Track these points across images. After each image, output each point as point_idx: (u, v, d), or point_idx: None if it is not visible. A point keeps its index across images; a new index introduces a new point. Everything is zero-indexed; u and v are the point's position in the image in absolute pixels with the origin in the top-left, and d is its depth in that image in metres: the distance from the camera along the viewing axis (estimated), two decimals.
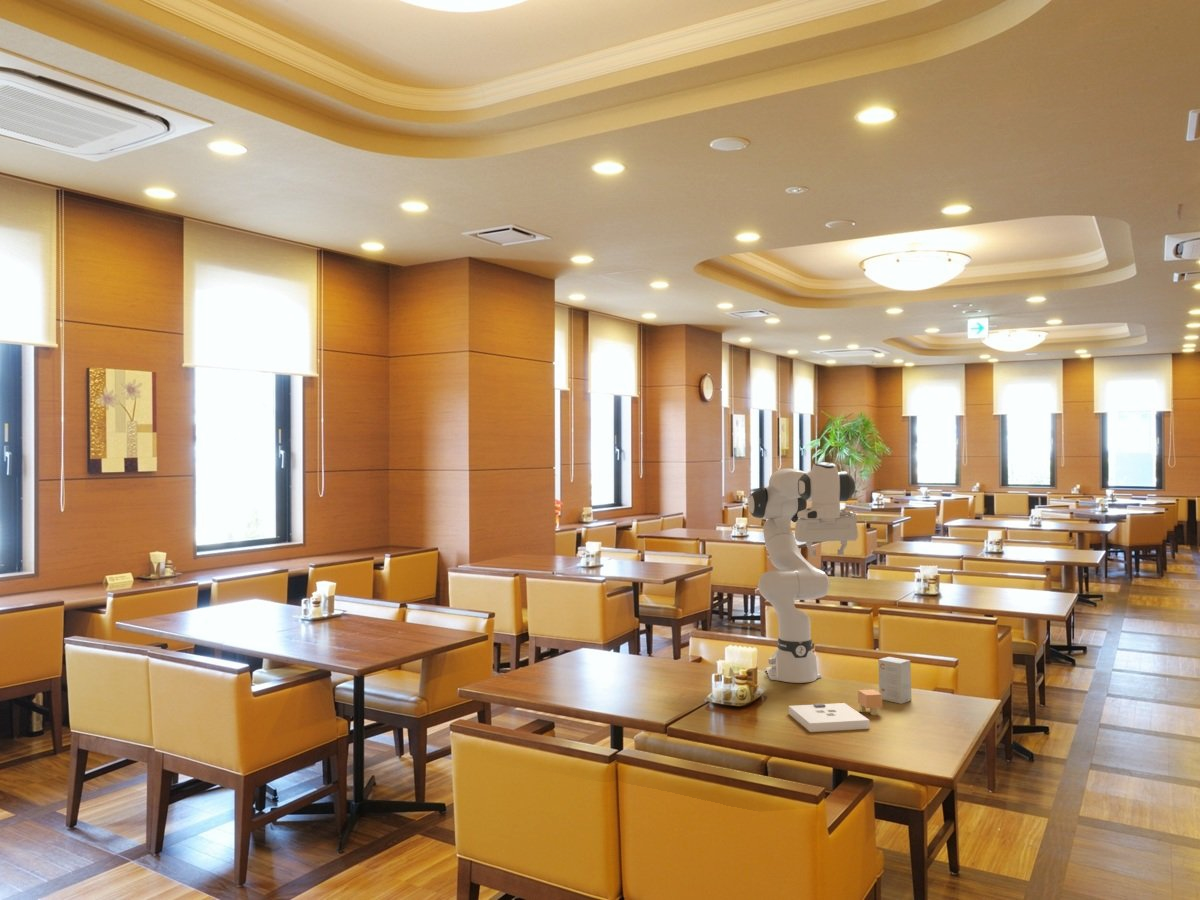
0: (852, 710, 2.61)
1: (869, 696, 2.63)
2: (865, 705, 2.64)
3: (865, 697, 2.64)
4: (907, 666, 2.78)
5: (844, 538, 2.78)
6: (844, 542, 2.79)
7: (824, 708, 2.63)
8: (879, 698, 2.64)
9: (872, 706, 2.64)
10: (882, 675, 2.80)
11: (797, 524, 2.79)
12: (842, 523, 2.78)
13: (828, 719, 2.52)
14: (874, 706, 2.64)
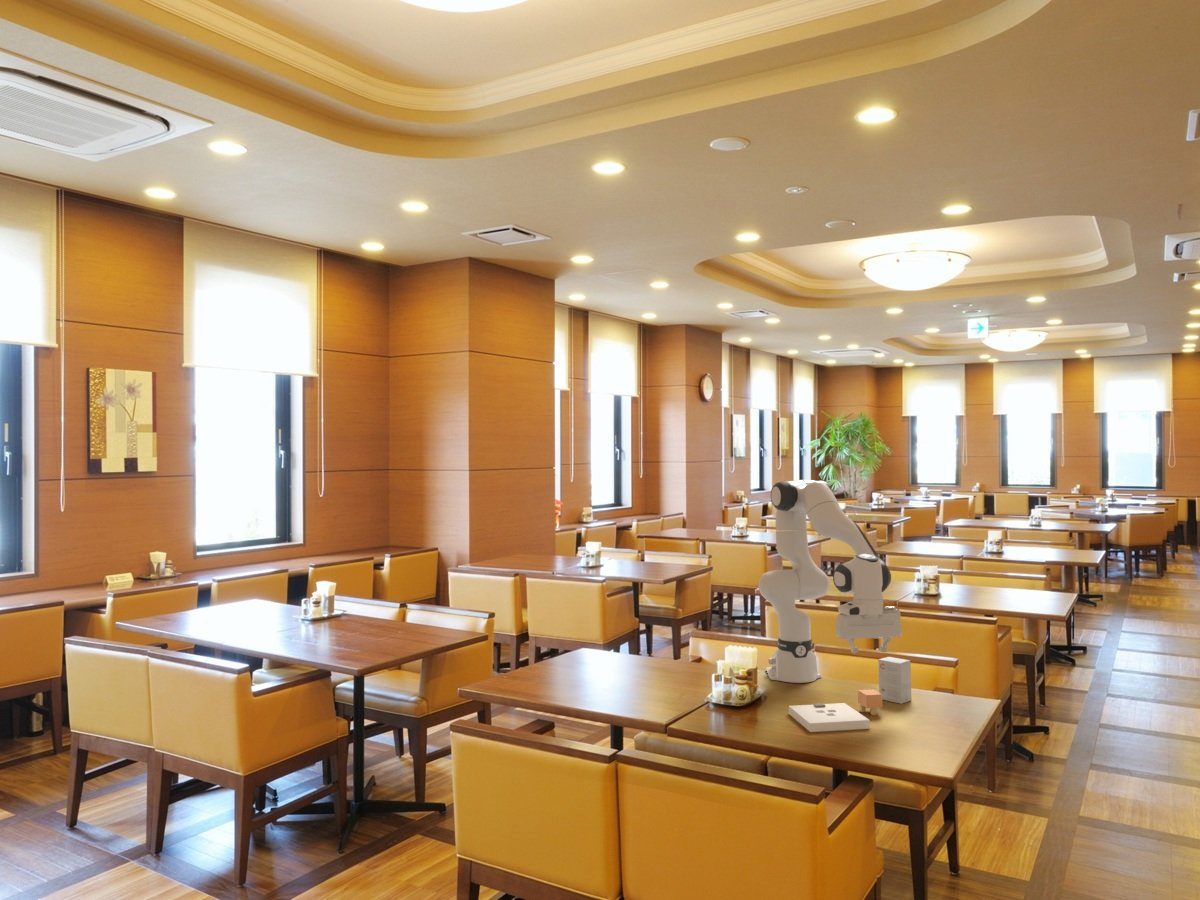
0: (852, 710, 2.61)
1: (869, 696, 2.63)
2: (865, 705, 2.64)
3: (865, 697, 2.64)
4: (907, 666, 2.78)
5: (887, 634, 2.66)
6: (887, 638, 2.66)
7: (824, 708, 2.63)
8: (879, 698, 2.64)
9: (872, 706, 2.64)
10: (882, 675, 2.80)
11: (838, 620, 2.66)
12: (885, 619, 2.66)
13: (828, 719, 2.52)
14: (874, 706, 2.64)
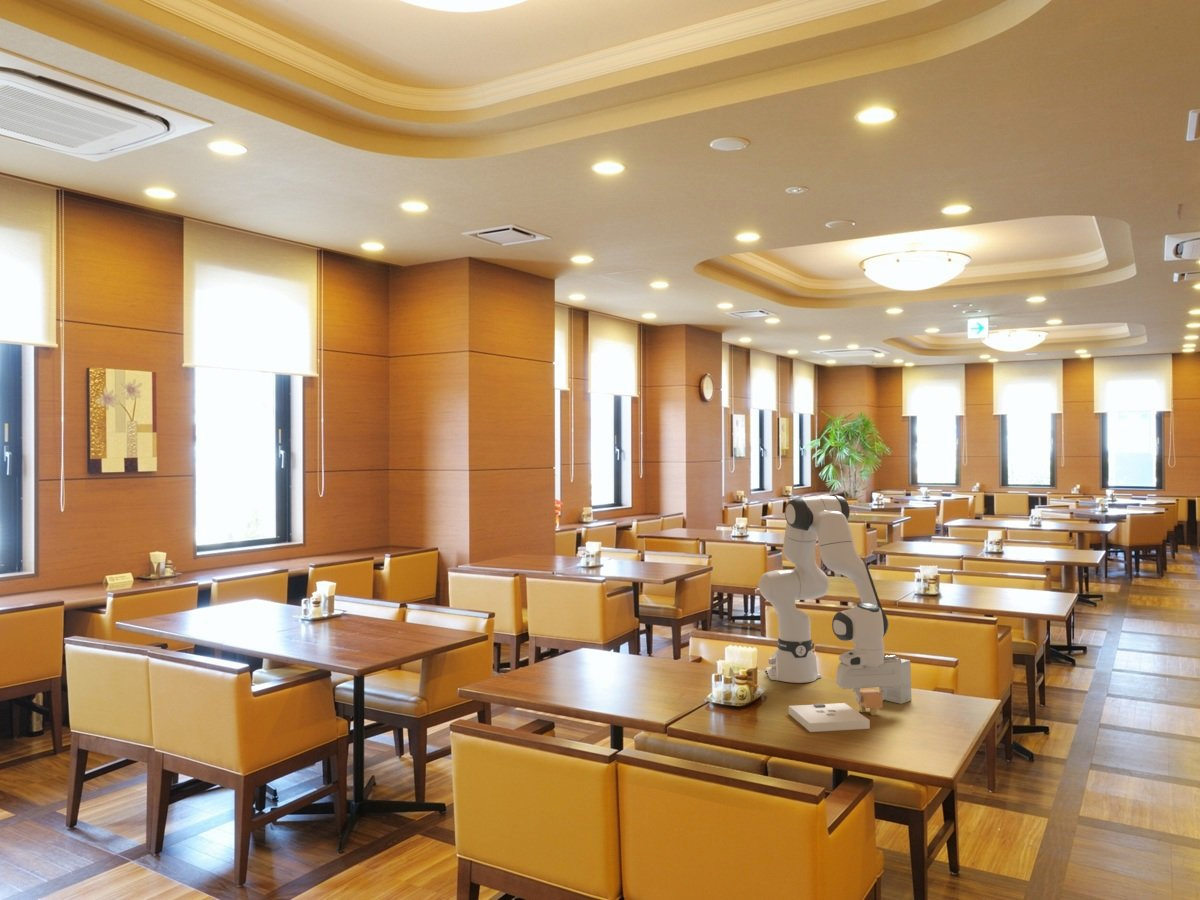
0: (852, 710, 2.61)
1: (869, 696, 2.63)
2: (865, 705, 2.64)
3: (865, 697, 2.64)
4: (907, 666, 2.78)
5: (888, 684, 2.66)
6: (884, 688, 2.66)
7: (824, 708, 2.63)
8: (879, 698, 2.64)
9: (872, 706, 2.64)
10: None
11: (839, 669, 2.66)
12: (886, 668, 2.66)
13: (828, 719, 2.52)
14: (874, 706, 2.64)
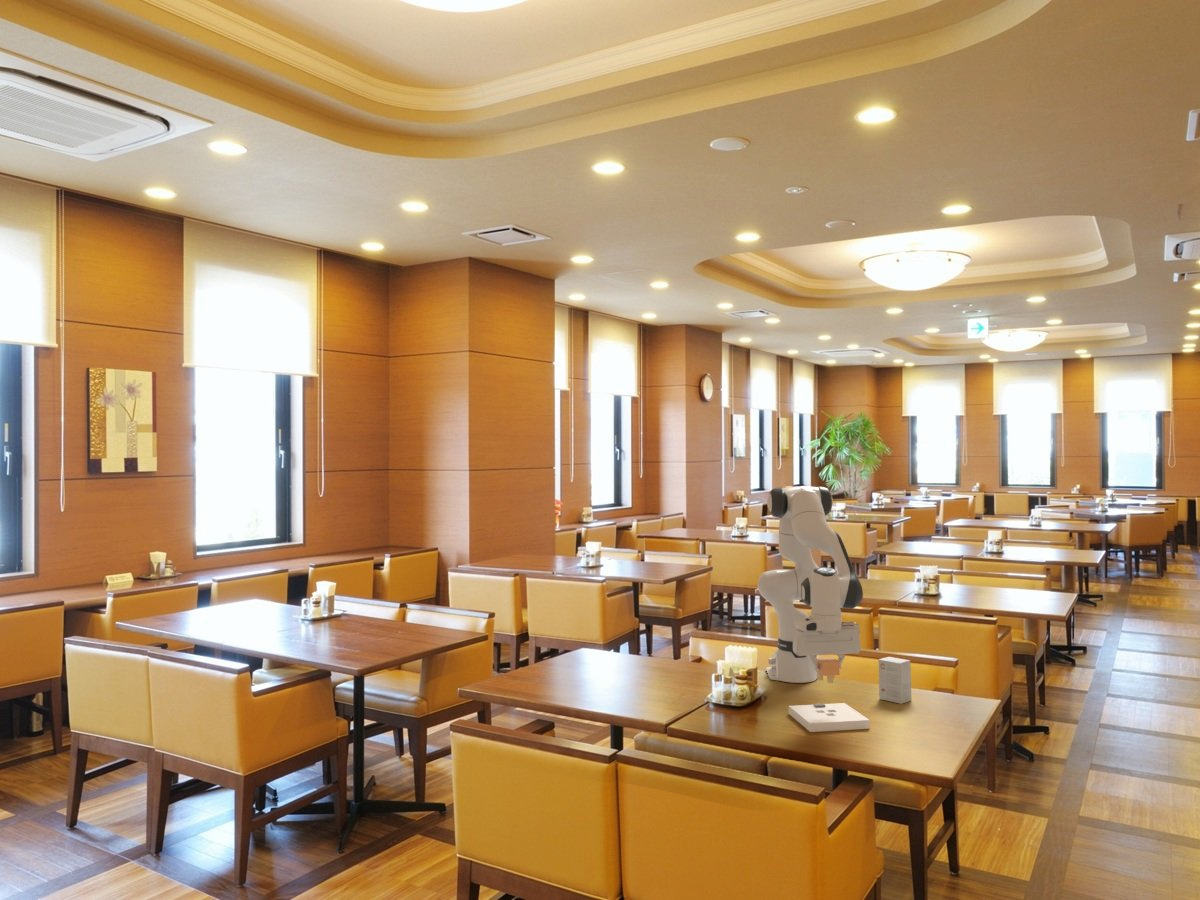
0: (852, 710, 2.61)
1: (826, 663, 2.55)
2: (822, 672, 2.56)
3: (822, 664, 2.56)
4: (907, 666, 2.78)
5: (846, 651, 2.58)
6: (841, 655, 2.58)
7: (824, 708, 2.63)
8: (836, 665, 2.56)
9: (829, 673, 2.55)
10: (882, 675, 2.80)
11: (795, 636, 2.58)
12: (844, 635, 2.58)
13: (828, 719, 2.52)
14: (831, 673, 2.55)
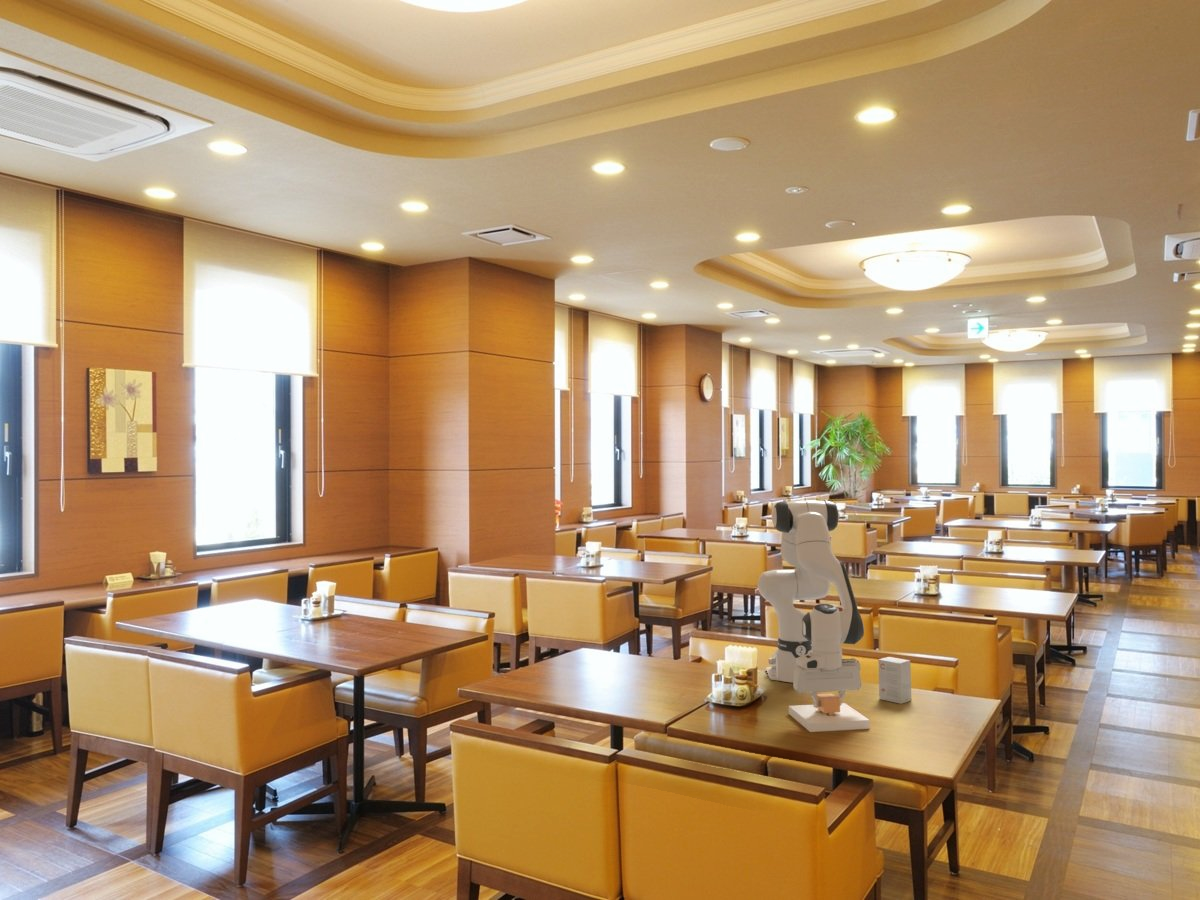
0: (852, 710, 2.61)
1: (826, 700, 2.55)
2: (822, 710, 2.56)
3: (822, 701, 2.56)
4: (907, 666, 2.78)
5: (846, 688, 2.58)
6: (842, 692, 2.58)
7: None
8: (837, 702, 2.56)
9: (829, 711, 2.56)
10: (882, 675, 2.80)
11: (795, 672, 2.58)
12: (844, 672, 2.58)
13: (828, 719, 2.52)
14: (832, 711, 2.56)
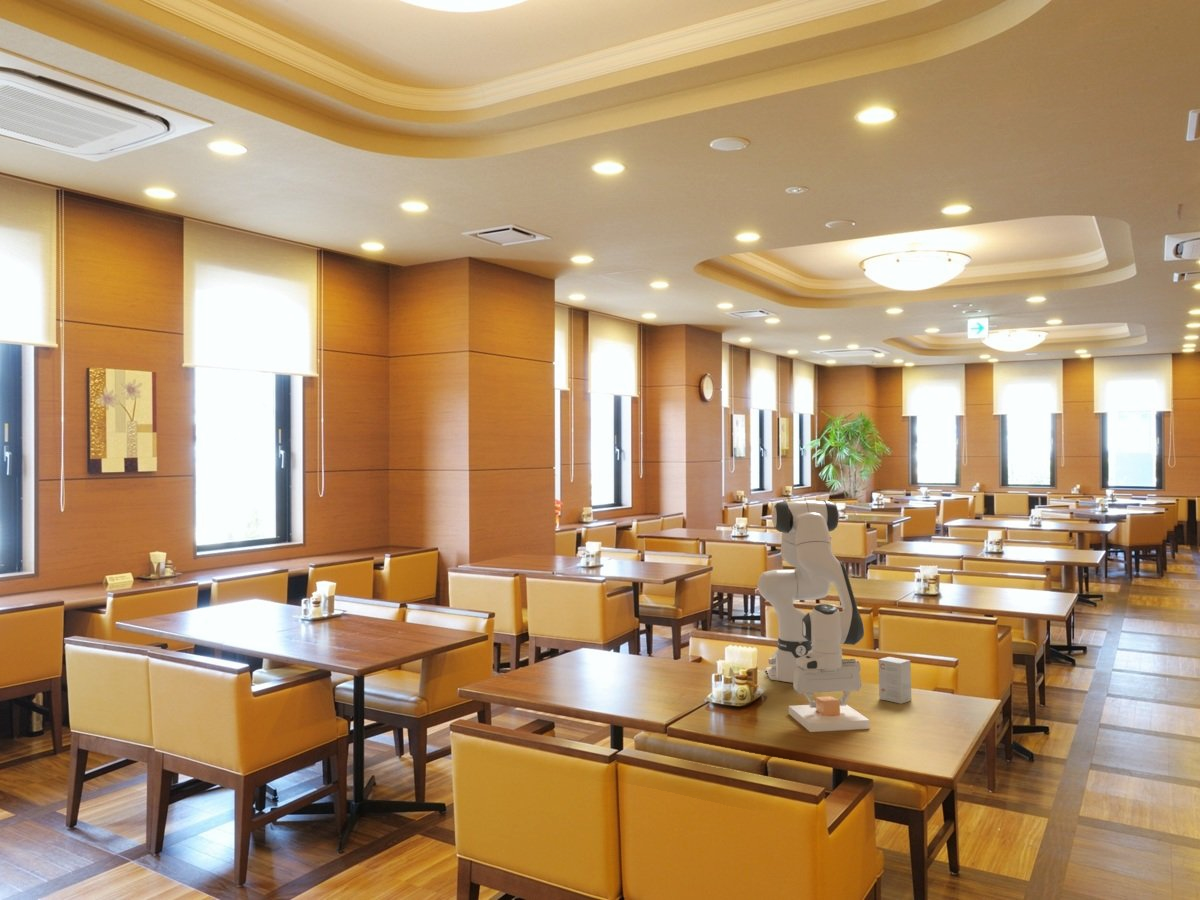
0: (852, 710, 2.61)
1: (826, 703, 2.56)
2: (822, 713, 2.56)
3: (822, 704, 2.56)
4: (907, 666, 2.78)
5: (846, 688, 2.58)
6: (846, 692, 2.58)
7: None
8: (837, 705, 2.56)
9: (829, 714, 2.56)
10: (882, 675, 2.80)
11: (795, 673, 2.58)
12: (844, 672, 2.58)
13: (828, 719, 2.52)
14: (831, 714, 2.56)
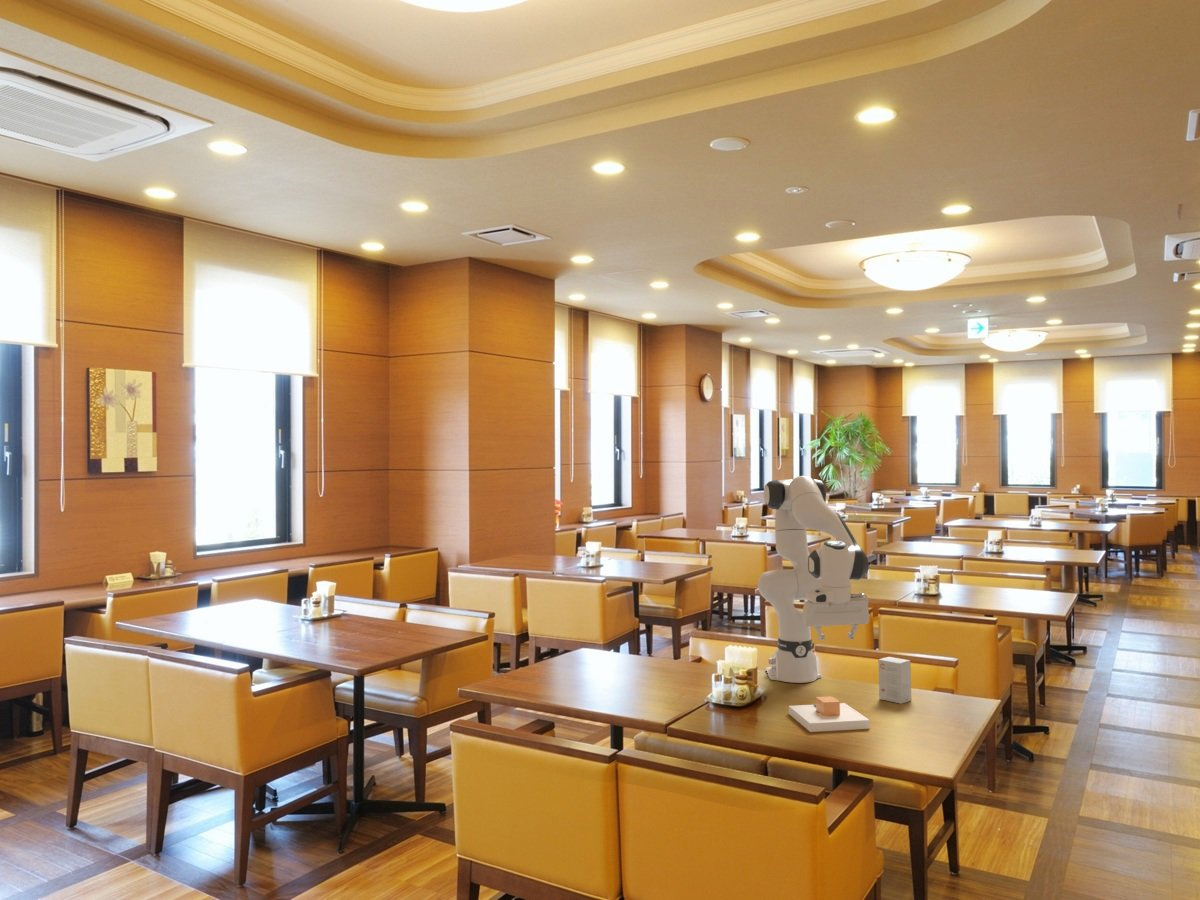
0: (852, 710, 2.61)
1: (826, 703, 2.56)
2: (822, 713, 2.56)
3: (822, 704, 2.56)
4: (907, 666, 2.78)
5: (855, 622, 2.64)
6: (855, 626, 2.65)
7: None
8: (837, 705, 2.56)
9: (829, 714, 2.56)
10: (882, 675, 2.80)
11: (805, 607, 2.64)
12: (853, 606, 2.64)
13: (828, 719, 2.52)
14: (831, 714, 2.56)
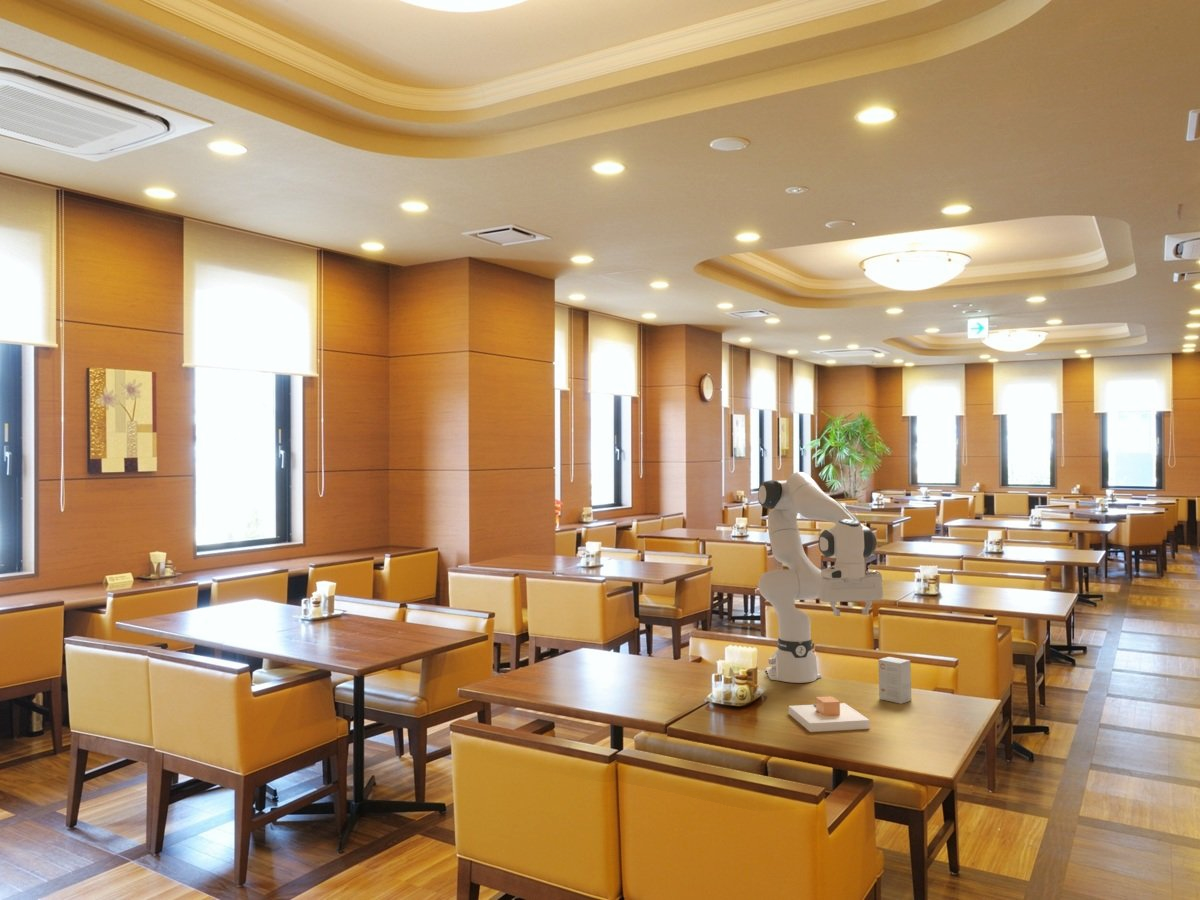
0: (852, 710, 2.61)
1: (826, 703, 2.56)
2: (822, 713, 2.56)
3: (822, 704, 2.56)
4: (907, 666, 2.78)
5: (869, 598, 2.71)
6: (869, 602, 2.72)
7: None
8: (837, 705, 2.56)
9: (829, 714, 2.56)
10: (882, 675, 2.80)
11: (820, 583, 2.72)
12: (867, 582, 2.71)
13: (828, 719, 2.52)
14: (831, 714, 2.56)
